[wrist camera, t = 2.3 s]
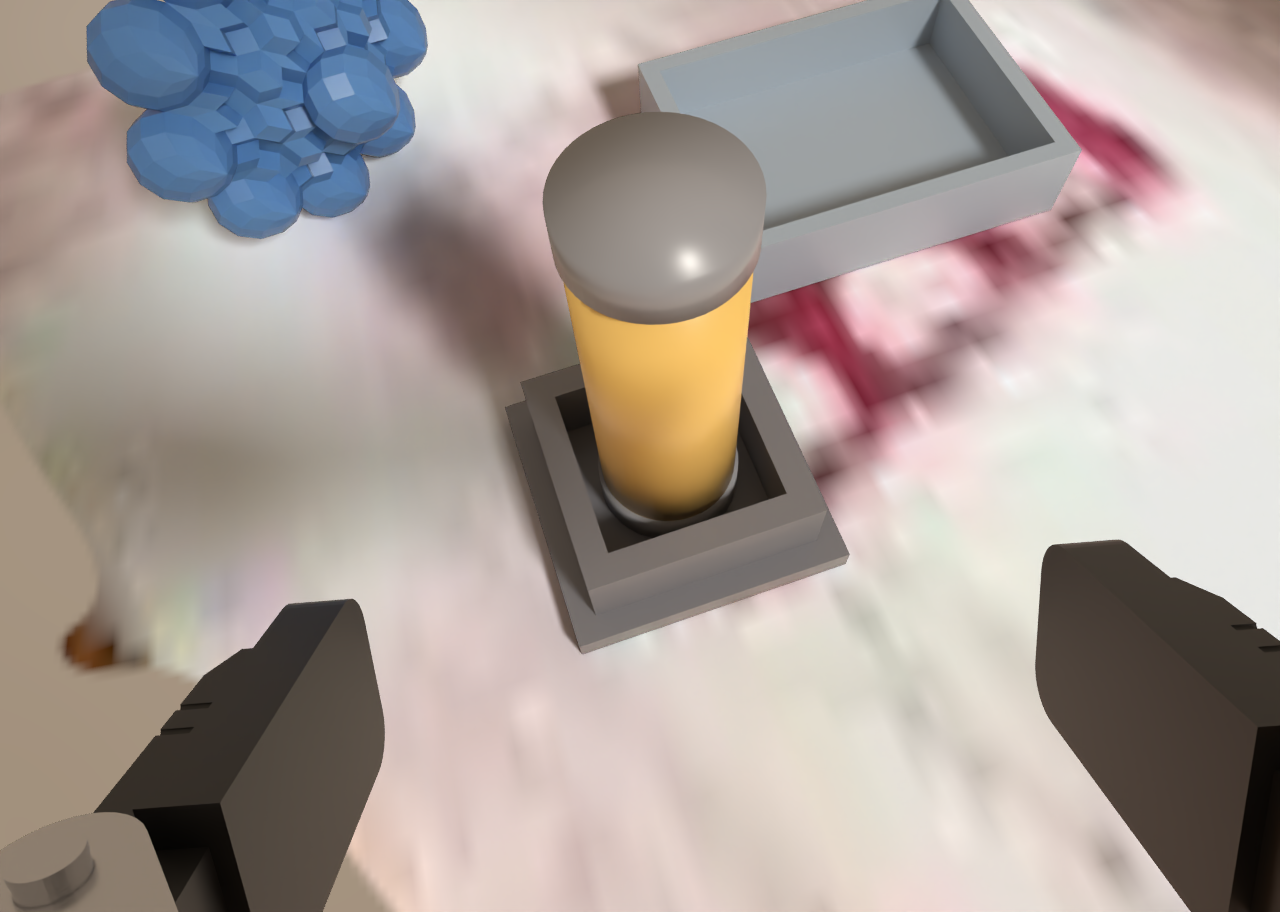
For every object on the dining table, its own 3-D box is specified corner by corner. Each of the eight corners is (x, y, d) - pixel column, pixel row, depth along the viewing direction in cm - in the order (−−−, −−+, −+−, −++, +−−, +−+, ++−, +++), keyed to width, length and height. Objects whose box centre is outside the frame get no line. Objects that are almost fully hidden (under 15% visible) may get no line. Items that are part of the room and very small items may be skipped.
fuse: (708, 401, 28) (719, 88, 17) (756, 514, 26) (802, 244, 16) (584, 441, 28) (517, 146, 17) (625, 558, 26) (580, 312, 15)
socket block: (744, 345, 30) (749, 290, 27) (845, 564, 26) (862, 525, 24) (509, 419, 29) (490, 370, 26) (582, 654, 26) (569, 625, 23)
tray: (932, 42, 36) (951, -24, 33) (1050, 209, 32) (1081, 149, 29) (641, 125, 34) (638, 64, 32) (727, 309, 31) (730, 256, 28)
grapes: (342, 369, 30) (151, 75, 20) (192, 290, 32) (-59, -19, 21) (533, 136, 34) (461, -211, 24) (390, 79, 36) (264, -269, 25)
